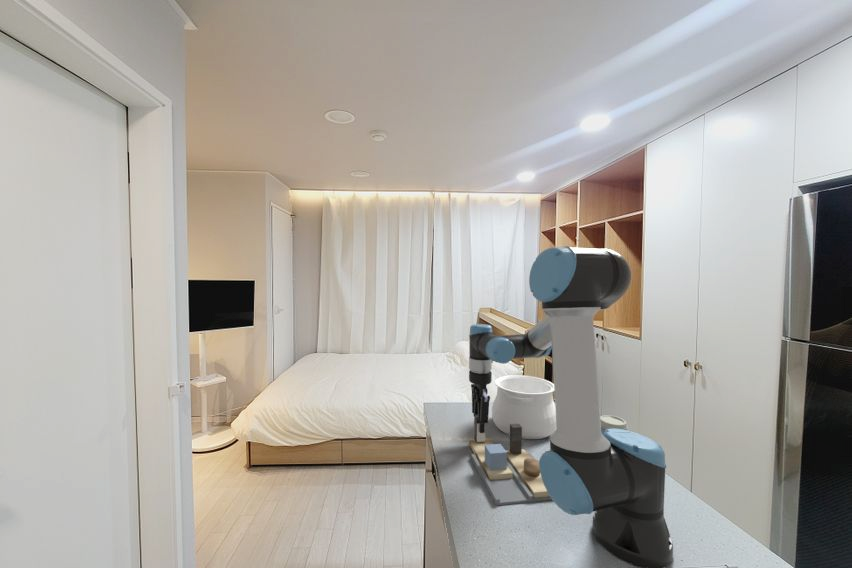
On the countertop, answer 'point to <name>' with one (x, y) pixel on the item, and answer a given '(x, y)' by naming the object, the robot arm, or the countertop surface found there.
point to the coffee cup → (612, 423)
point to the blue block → (495, 457)
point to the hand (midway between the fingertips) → (479, 438)
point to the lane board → (507, 487)
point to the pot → (525, 405)
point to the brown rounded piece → (531, 467)
